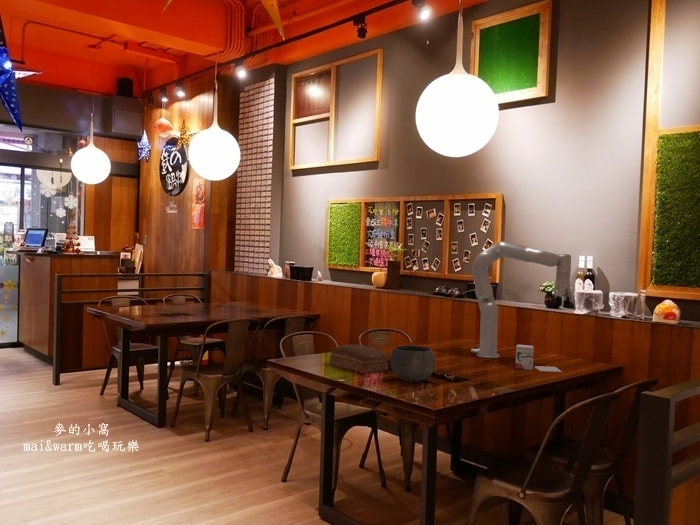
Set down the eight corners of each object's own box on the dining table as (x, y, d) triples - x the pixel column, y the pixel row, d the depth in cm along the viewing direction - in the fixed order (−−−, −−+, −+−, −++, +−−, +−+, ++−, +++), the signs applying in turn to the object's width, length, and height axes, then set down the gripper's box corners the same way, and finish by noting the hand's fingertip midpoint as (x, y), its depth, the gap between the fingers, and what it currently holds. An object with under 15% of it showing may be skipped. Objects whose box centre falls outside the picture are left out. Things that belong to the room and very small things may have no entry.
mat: (539, 371, 306) (539, 370, 306) (534, 366, 318) (534, 366, 318) (562, 372, 305) (562, 371, 305) (555, 367, 317) (555, 366, 317)
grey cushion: (363, 374, 289) (364, 350, 289) (327, 364, 312) (328, 342, 312) (390, 371, 299) (390, 348, 299) (353, 361, 323) (354, 340, 322)
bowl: (403, 387, 264) (404, 352, 263) (382, 377, 283) (382, 345, 282) (443, 384, 272) (443, 350, 272) (419, 374, 291) (420, 343, 290)
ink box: (515, 368, 312) (515, 345, 311) (515, 367, 316) (516, 344, 316) (532, 370, 309) (533, 347, 308) (533, 368, 313) (533, 345, 313)
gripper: (549, 275, 347) (548, 304, 348) (565, 276, 330) (563, 308, 331) (561, 275, 348) (560, 305, 349) (577, 277, 331) (576, 308, 332)
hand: (561, 306), depth 340 cm, fingers open, 9 cm apart
